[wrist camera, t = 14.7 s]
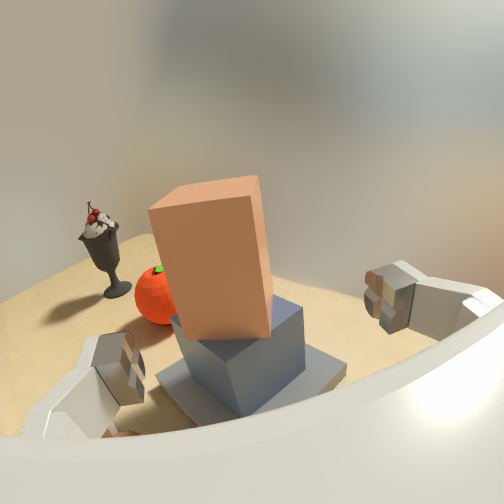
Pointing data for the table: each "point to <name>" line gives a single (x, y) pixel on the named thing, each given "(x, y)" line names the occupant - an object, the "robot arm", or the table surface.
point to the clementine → (154, 296)
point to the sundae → (104, 249)
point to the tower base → (217, 413)
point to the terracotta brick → (216, 258)
